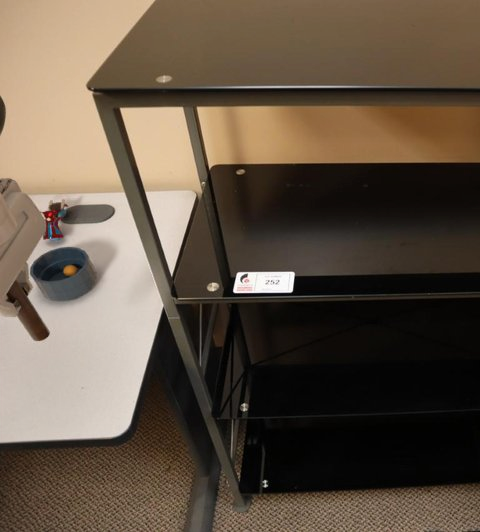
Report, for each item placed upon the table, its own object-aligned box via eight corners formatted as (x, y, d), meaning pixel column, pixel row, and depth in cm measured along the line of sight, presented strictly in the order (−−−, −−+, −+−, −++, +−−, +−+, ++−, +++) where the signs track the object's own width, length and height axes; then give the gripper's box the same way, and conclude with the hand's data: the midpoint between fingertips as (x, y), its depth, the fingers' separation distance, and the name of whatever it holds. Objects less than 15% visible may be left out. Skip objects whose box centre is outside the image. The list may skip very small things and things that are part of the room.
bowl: (33, 303, 95) (20, 283, 91) (54, 266, 102) (42, 246, 98) (88, 303, 96) (77, 283, 92) (105, 266, 103) (95, 246, 99)
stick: (28, 342, 72) (-26, 265, 61) (35, 328, 74) (-16, 252, 63) (46, 341, 72) (-4, 266, 61) (53, 328, 74) (5, 252, 63)
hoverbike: (41, 248, 105) (29, 228, 101) (50, 212, 113) (39, 192, 109) (69, 245, 106) (58, 224, 102) (76, 209, 114) (66, 189, 110)
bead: (64, 280, 99) (59, 271, 97) (68, 271, 101) (64, 262, 99) (77, 280, 99) (72, 271, 97) (81, 271, 101) (77, 262, 99)
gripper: (-19, 169, 65) (27, 248, 75) (-122, 288, 51) (-48, 367, 60) (34, 170, 66) (73, 249, 75) (-53, 288, 51) (9, 366, 61)
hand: (19, 302), depth 68 cm, fingers closed on stick, 2 cm apart
